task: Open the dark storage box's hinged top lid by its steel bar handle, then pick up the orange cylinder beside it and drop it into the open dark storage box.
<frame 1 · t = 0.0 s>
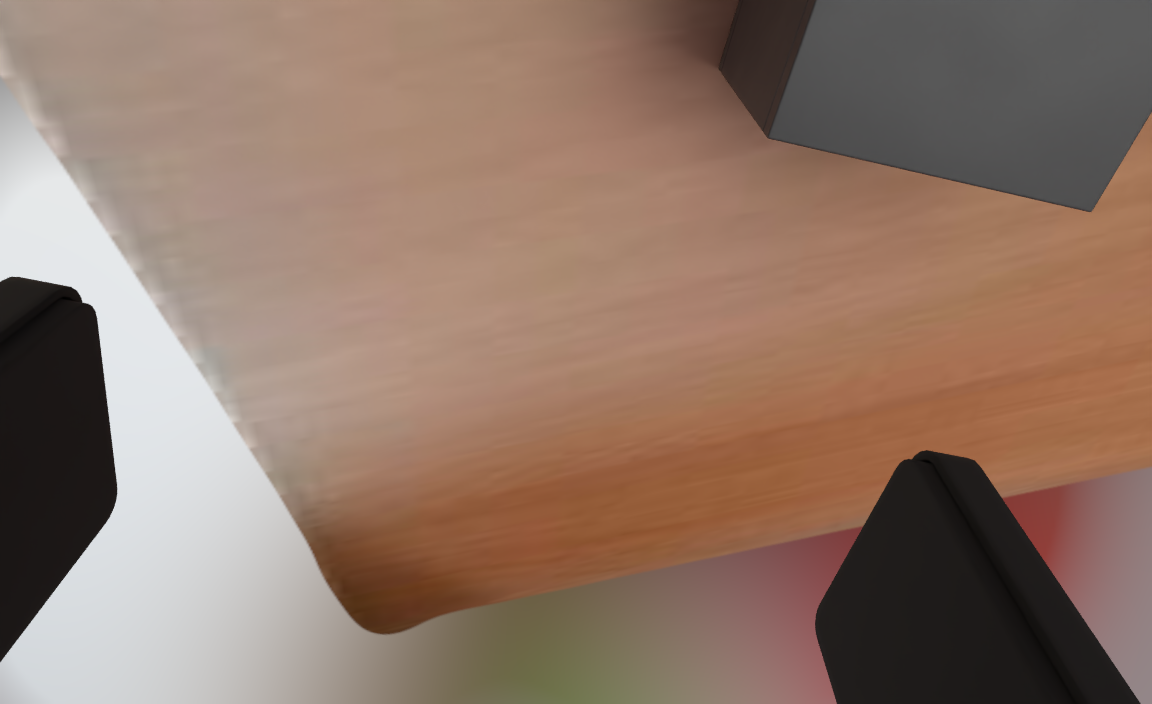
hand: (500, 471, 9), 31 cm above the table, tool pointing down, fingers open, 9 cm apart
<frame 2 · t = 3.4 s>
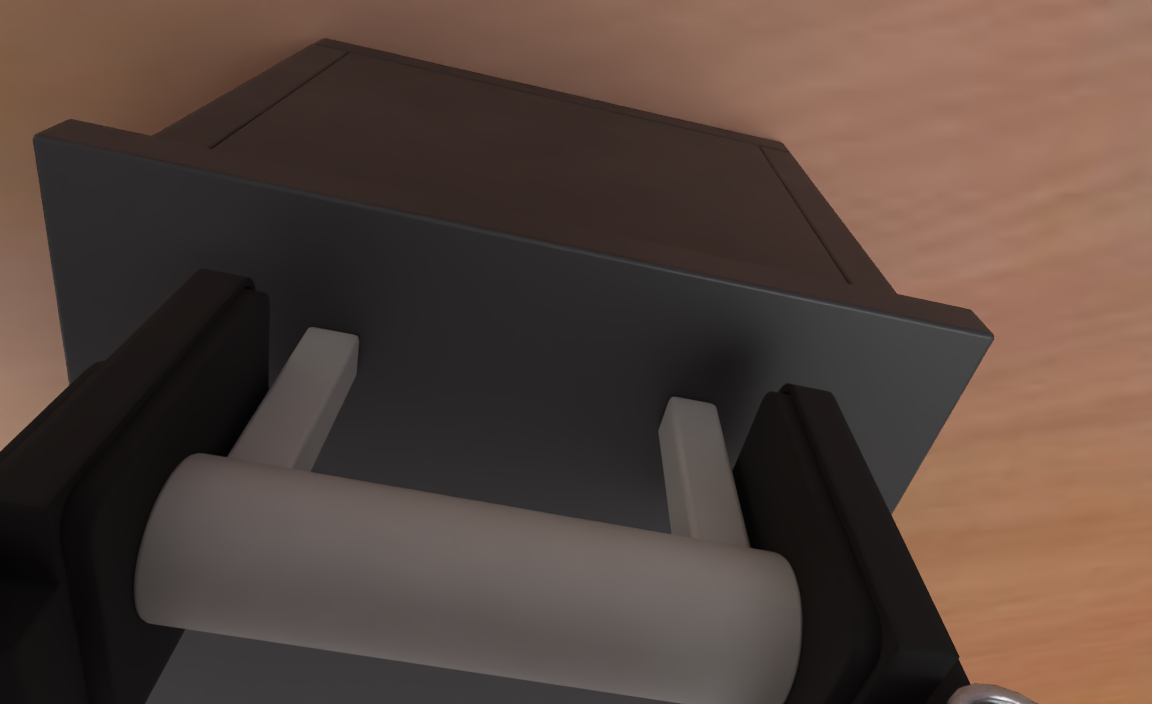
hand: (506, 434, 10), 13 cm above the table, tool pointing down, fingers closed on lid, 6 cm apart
dark storage box: (509, 345, 24), on the table
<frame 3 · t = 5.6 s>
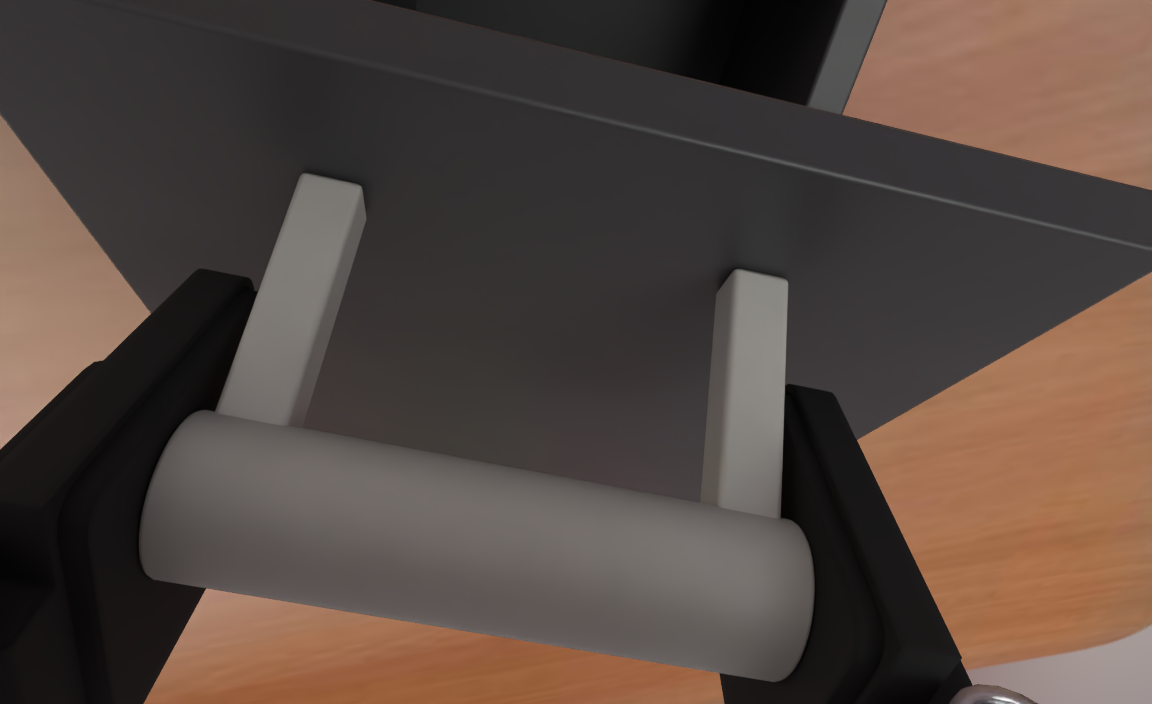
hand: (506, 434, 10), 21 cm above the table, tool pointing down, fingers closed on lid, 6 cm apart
dark storage box: (554, 121, 28), on the table
lid: (486, 501, 14), point 18 cm above the table, hinge at 35.6°, touching gripper
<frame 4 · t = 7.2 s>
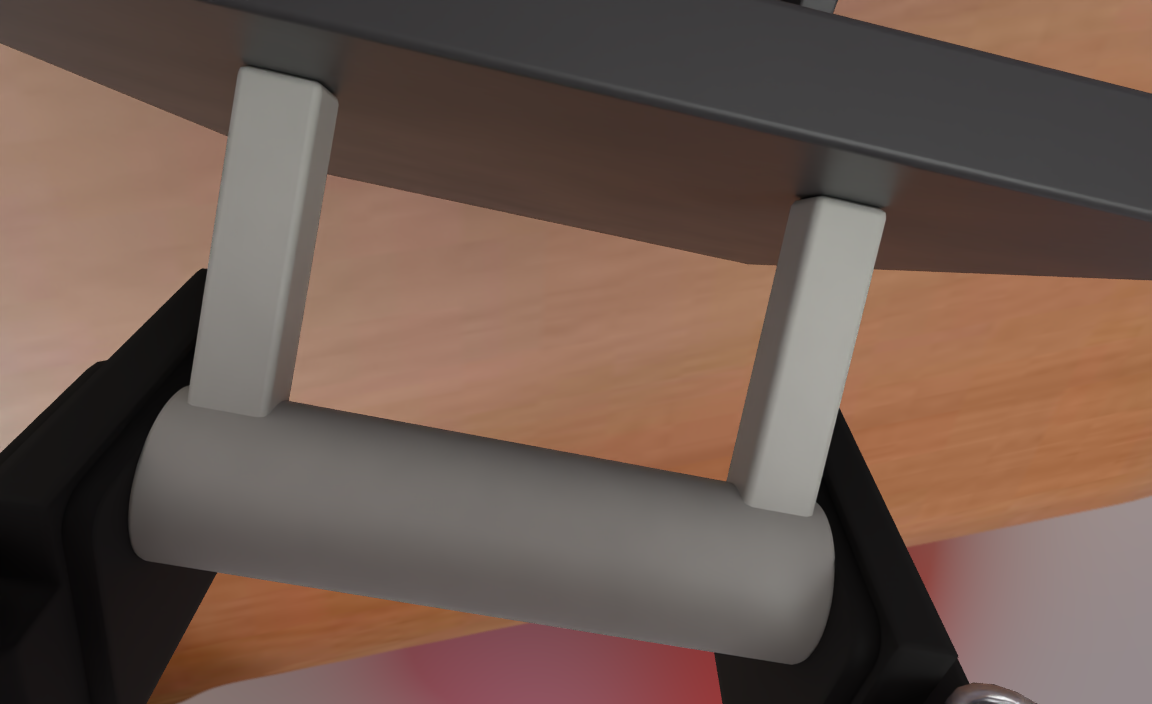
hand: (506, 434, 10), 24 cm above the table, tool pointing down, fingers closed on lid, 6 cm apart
lid: (527, 301, 13), point 20 cm above the table, hinge at 65.8°, touching gripper
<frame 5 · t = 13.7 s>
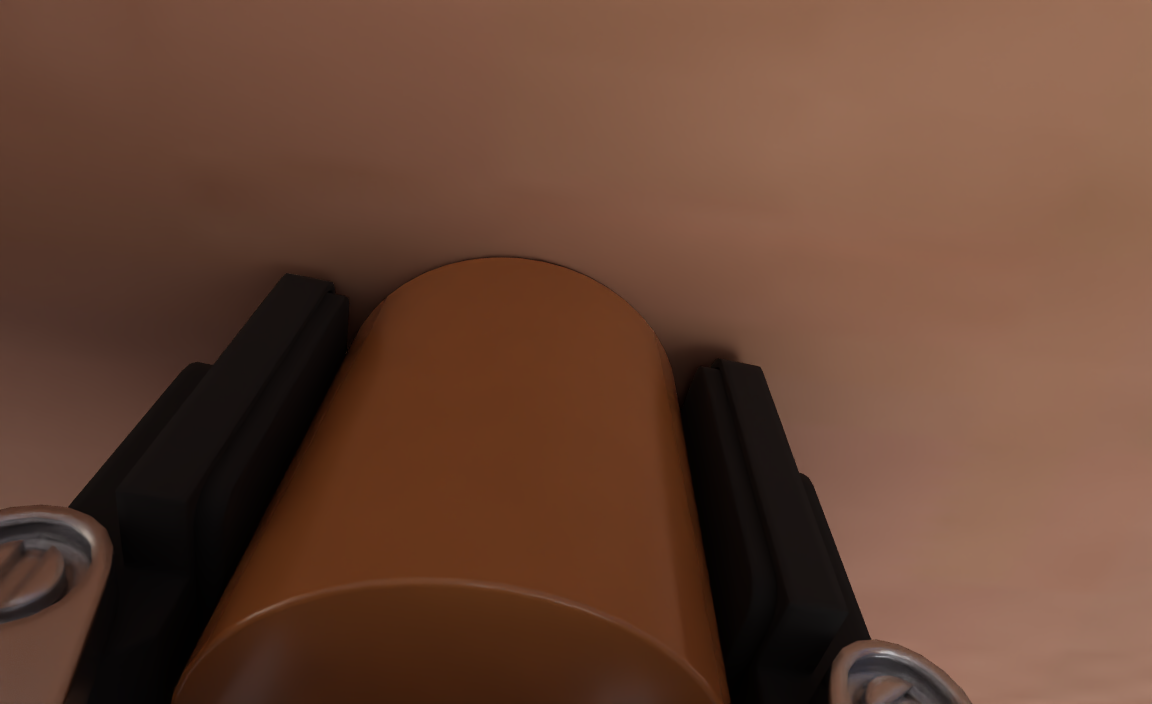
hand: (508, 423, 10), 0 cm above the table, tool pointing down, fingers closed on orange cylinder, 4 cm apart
orange cylinder: (510, 407, 10), on the table, touching gripper
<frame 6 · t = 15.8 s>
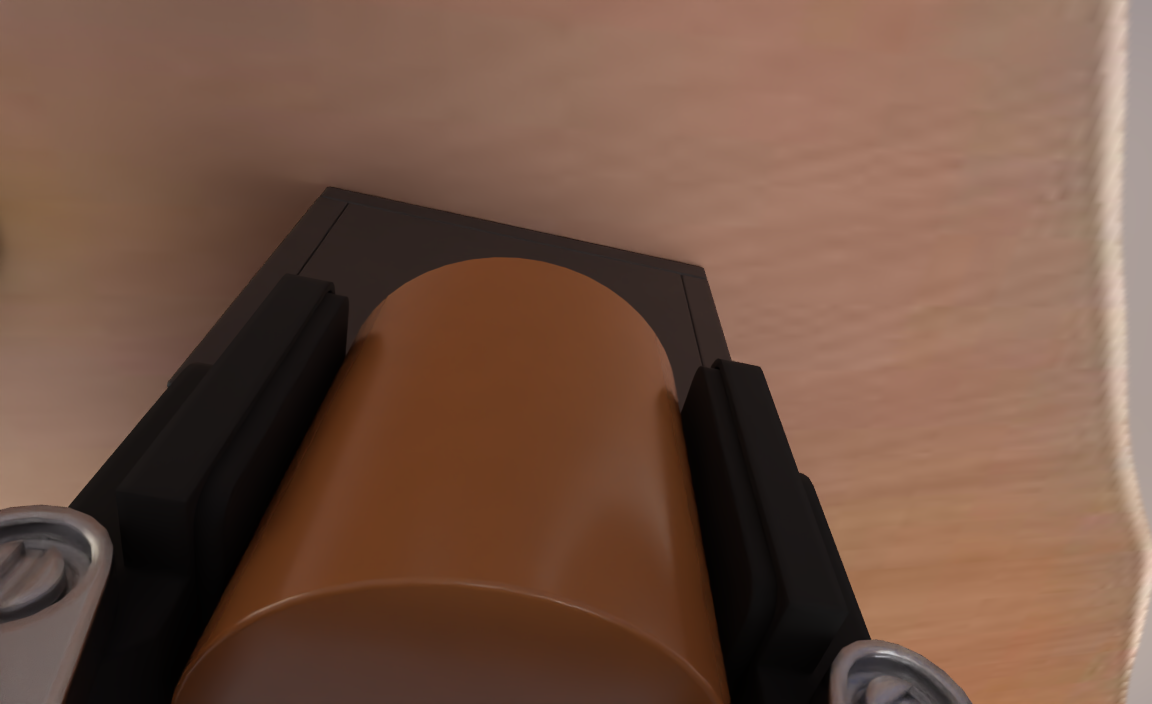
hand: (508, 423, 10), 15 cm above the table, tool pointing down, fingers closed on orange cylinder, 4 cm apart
dark storage box: (481, 419, 29), on the table
orange cylinder: (510, 406, 10), point 15 cm above the table, touching gripper
when the fingers open (10 cm above the table, at t = 18.4 s): orange cylinder drops 9 cm, resting on dark storage box.
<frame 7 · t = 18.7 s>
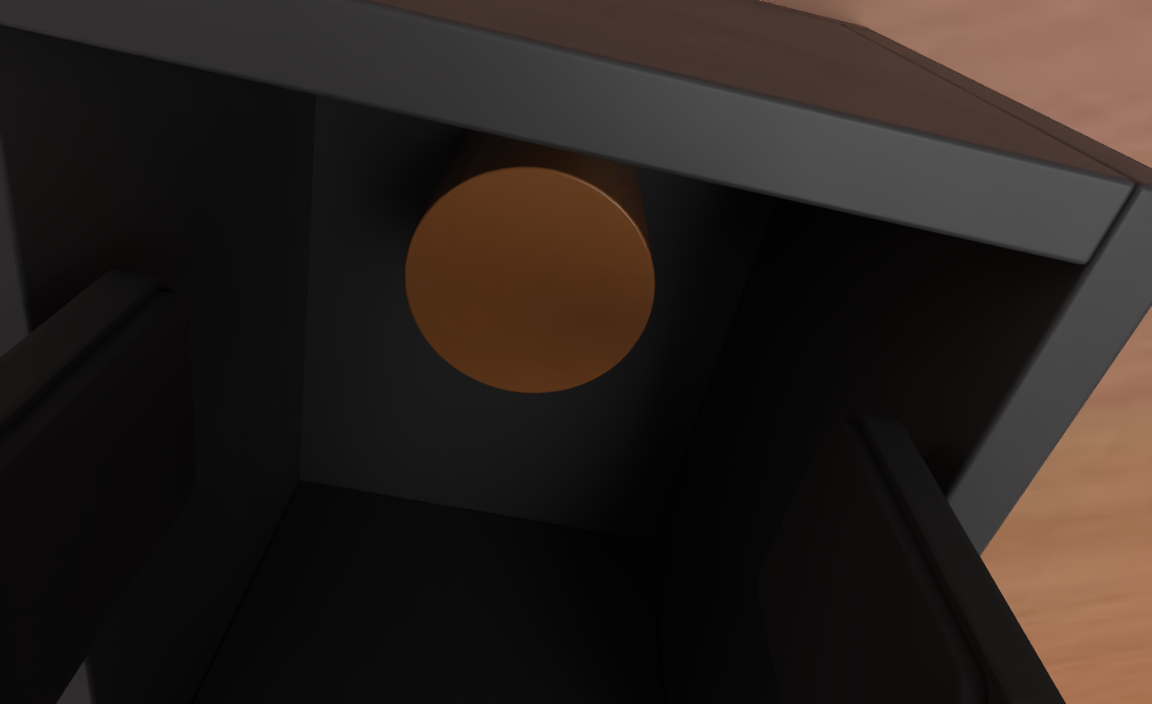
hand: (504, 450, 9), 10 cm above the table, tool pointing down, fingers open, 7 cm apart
dark storage box: (523, 290, 20), on the table
orange cylinder: (543, 193, 18), point 1 cm above the table, touching dark storage box
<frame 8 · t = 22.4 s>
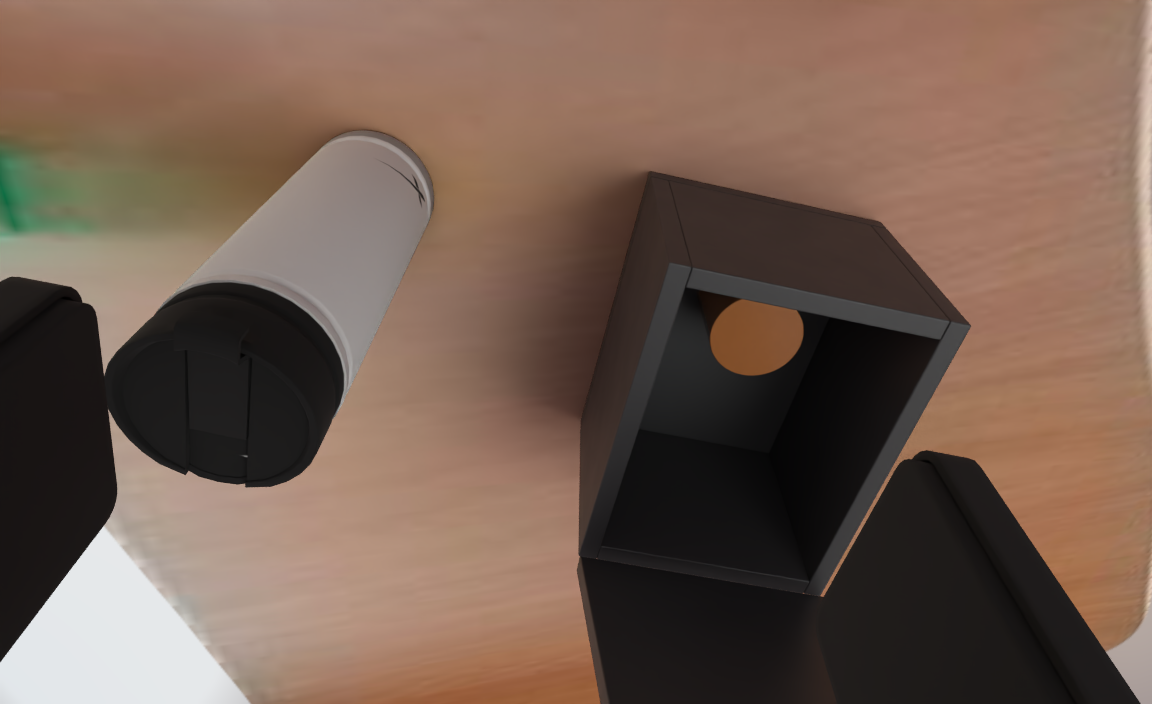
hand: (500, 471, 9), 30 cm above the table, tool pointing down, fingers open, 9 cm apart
dark storage box: (718, 329, 43), on the table
travel mug: (374, 186, 39), on the table
orange cylinder: (738, 289, 40), point 1 cm above the table, touching dark storage box
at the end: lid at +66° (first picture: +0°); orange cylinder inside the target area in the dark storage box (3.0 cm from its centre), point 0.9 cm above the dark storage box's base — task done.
